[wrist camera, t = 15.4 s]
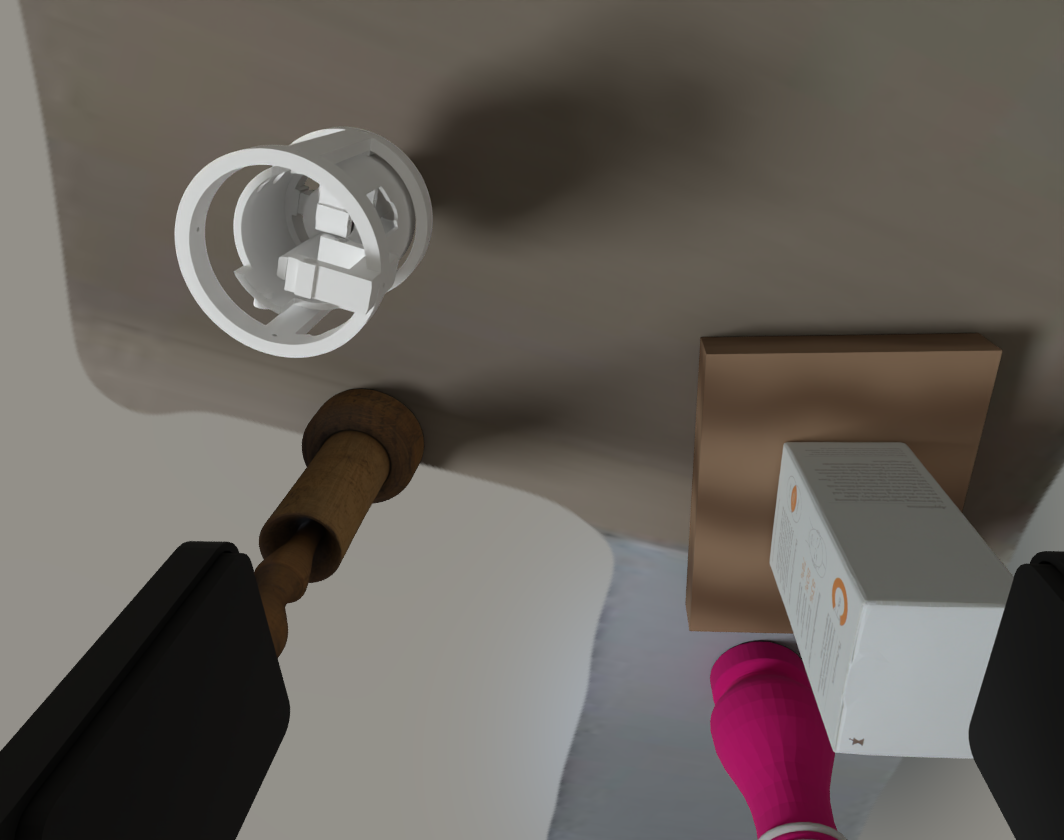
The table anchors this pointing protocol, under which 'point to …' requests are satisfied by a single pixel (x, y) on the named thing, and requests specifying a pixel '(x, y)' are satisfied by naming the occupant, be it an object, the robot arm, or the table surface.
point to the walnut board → (814, 416)
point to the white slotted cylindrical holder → (309, 236)
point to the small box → (885, 597)
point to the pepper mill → (774, 741)
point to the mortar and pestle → (334, 494)
